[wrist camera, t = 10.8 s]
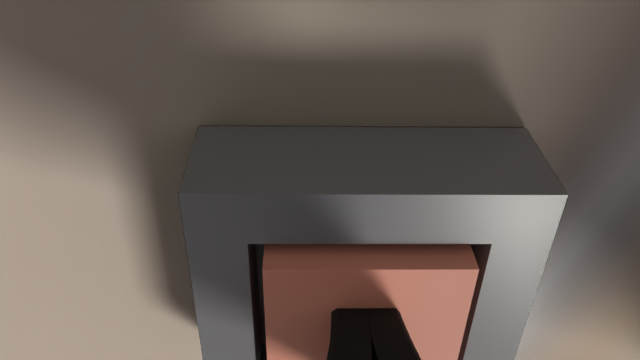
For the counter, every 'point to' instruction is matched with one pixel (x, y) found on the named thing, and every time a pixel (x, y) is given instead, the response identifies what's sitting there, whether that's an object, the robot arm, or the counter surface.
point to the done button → (366, 293)
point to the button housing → (365, 216)
